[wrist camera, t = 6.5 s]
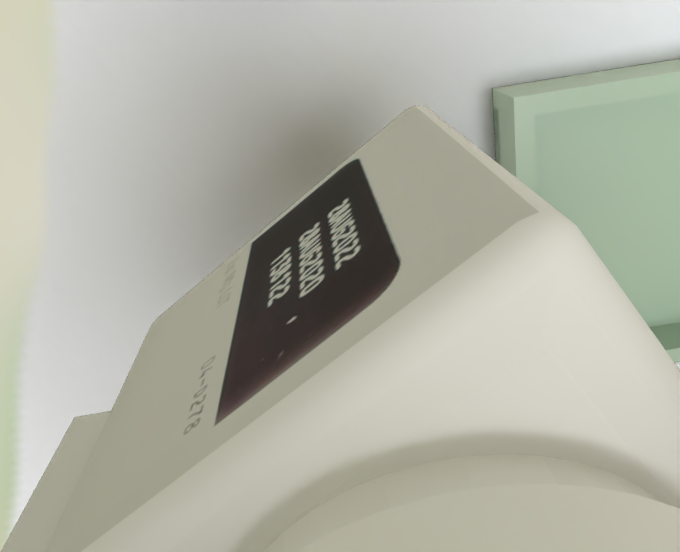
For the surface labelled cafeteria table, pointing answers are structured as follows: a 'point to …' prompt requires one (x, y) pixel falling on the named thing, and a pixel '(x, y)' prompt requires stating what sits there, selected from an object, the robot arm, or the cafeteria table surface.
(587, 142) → the tray
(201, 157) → the cafeteria table surface
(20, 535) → the robot arm
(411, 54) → the cafeteria table surface
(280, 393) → the container
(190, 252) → the cafeteria table surface
